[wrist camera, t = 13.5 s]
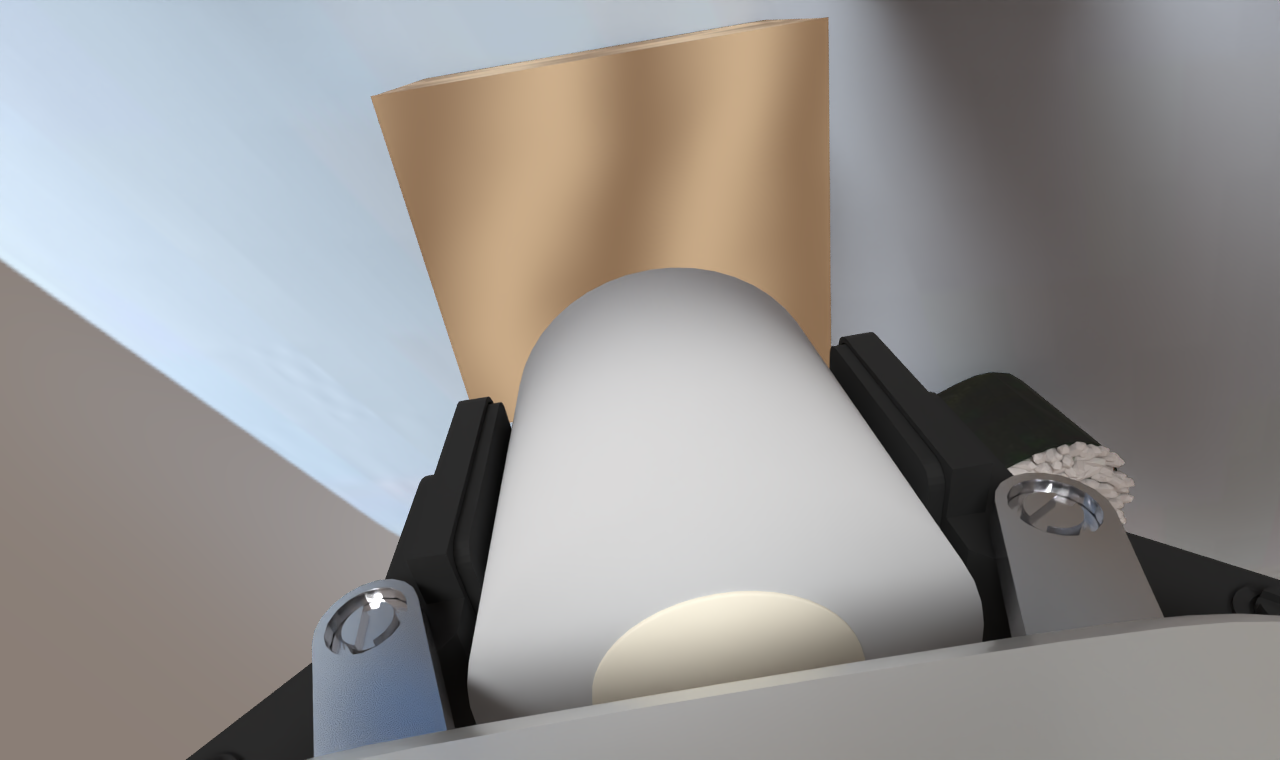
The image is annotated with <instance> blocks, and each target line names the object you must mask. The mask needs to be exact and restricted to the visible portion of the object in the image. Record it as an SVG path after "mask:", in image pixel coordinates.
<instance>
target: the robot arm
mask: <svg viewBox="0 0 1280 760" xmlns="http://www.w3.org/2000/svg"><path fill="white" fill-rule="evenodd" d="M829 369H830V371H831V372H832V374H833V375H834V376H835V378H836V379H837V381H838V382H839V384H840V385H841V387H842V388H843V389H844V391H845V392H846V394H847V395H848V397H849V398H850V400H851V401H852V402H853V404H854V405H855V407H856V408H857V410H858V411H859V413H860V414H861V415H862V417H863V418H864V420H865V421H866V423H867V424H868V426H869V427H870V428H871V430H872V431H873V433H874V434H875V436H876V437H877V439H878V440H879V441H880V443H881V444H882V446H883V447H884V449H885V450H886V452H887V453H888V454H889V456H890V457H891V459H892V460H893V462H894V463H895V465H896V466H897V467H898V469H899V470H900V472H901V473H902V475H903V476H904V478H905V479H906V480H907V482H908V483H909V485H910V486H911V488H912V489H913V491H914V492H915V493H916V495H917V496H918V498H919V499H920V501H921V502H922V504H923V505H924V506H925V508H926V509H927V511H928V512H929V514H930V515H931V517H932V518H933V519H934V521H935V522H936V524H937V525H938V527H939V528H940V530H941V531H942V532H943V534H944V535H945V537H946V538H947V540H948V541H949V543H950V544H951V545H952V547H953V548H954V550H955V551H956V553H957V554H958V555H959V557H960V558H961V560H962V561H963V563H964V565H965V566H966V568H967V570H968V571H969V573H970V575H971V576H972V578H973V580H974V582H975V585H976V587H977V590H978V593H979V596H980V599H981V602H982V611H983V620H984V628H983V639H982V642H980V643H974V644H967V645H961V646H955V647H948V648H942V649H936V650H929V651H923V652H917V653H910V654H904V655H898V656H891V657H885V658H879V659H872V660H866V661H860V662H853V663H847V664H841V665H834V666H828V667H822V668H816V669H810V670H804V671H797V672H791V673H785V674H779V675H773V676H767V677H761V678H754V679H748V680H742V681H736V682H730V683H724V684H718V685H712V686H705V687H699V688H693V689H687V690H681V691H675V692H669V693H663V694H657V695H651V696H645V697H639V698H633V699H627V700H621V701H615V702H609V703H603V704H597V705H591V706H585V707H579V708H573V709H567V710H562V711H556V712H550V713H544V714H538V715H532V716H526V717H520V718H514V719H508V720H502V721H496V722H491V723H485V724H479V725H477V724H476V721H475V719H474V716H473V713H472V710H471V708H470V702H469V695H468V688H467V680H468V666H469V659H470V653H471V648H472V642H473V637H474V631H475V626H476V621H477V615H478V610H479V604H480V599H481V593H482V588H483V582H484V577H485V571H486V566H487V561H488V555H489V550H490V544H491V539H492V533H493V528H494V522H495V517H496V511H497V506H498V501H499V495H500V490H501V484H502V479H503V473H504V468H505V462H506V457H507V452H508V446H509V441H510V435H511V430H512V429H511V426H510V423H509V419H508V416H507V413H506V410H505V407H504V405H503V403H502V402H498V403H493V401H492V399H491V398H490V397H489V396H488V397H482V398H476V399H470V400H464V401H460V402H459V403H458V404H457V407H456V410H455V413H454V416H453V419H452V422H451V425H450V428H449V431H448V434H447V437H446V440H445V443H444V446H443V449H442V452H441V455H440V458H439V461H438V464H437V468H436V471H435V474H434V475H429V476H425V477H424V478H422V480H421V482H420V484H419V486H418V489H417V492H416V495H415V497H414V500H413V503H412V506H411V509H410V511H409V514H408V517H407V520H406V523H405V525H404V528H403V531H402V534H401V537H400V539H399V542H398V545H397V548H396V551H395V553H394V556H393V559H392V562H391V564H390V567H389V570H388V573H387V576H386V579H385V580H377V581H374V582H371V583H368V584H365V585H362V586H360V587H358V588H356V589H355V590H353V591H351V592H349V593H347V594H346V595H344V596H343V597H342V598H341V599H339V600H338V601H337V602H336V603H334V604H333V605H332V606H331V607H330V608H329V610H328V611H327V612H326V613H325V614H324V615H323V616H322V618H321V620H320V622H319V623H318V625H317V627H316V629H315V631H314V637H313V641H312V663H311V664H309V665H308V666H307V667H306V668H304V669H303V670H302V671H300V672H299V673H298V674H297V675H295V676H294V677H293V678H291V679H290V680H289V681H288V682H286V683H285V684H283V685H282V686H281V687H280V688H278V689H277V690H276V691H274V693H272V694H271V695H269V696H268V697H267V698H265V699H264V700H263V701H262V702H260V703H259V704H258V705H257V706H255V707H254V708H253V709H251V710H250V711H249V712H247V713H246V714H245V715H243V716H242V717H241V718H239V719H238V720H237V721H236V722H234V723H233V724H232V725H230V726H229V727H228V728H227V729H225V730H224V731H223V732H221V733H220V734H219V735H217V736H216V737H215V738H213V739H212V740H211V741H210V742H208V743H207V744H206V745H205V746H203V747H202V748H201V749H199V750H198V751H197V752H196V753H194V754H193V755H191V756H190V757H189V758H188V759H186V760H1280V580H1278V579H1275V578H1272V577H1268V576H1265V575H1262V574H1259V573H1256V572H1252V571H1249V570H1246V569H1243V568H1240V567H1236V566H1233V565H1230V564H1227V563H1224V562H1220V561H1217V560H1214V559H1211V558H1208V557H1204V556H1201V555H1198V554H1195V553H1192V552H1189V551H1185V550H1182V549H1179V548H1176V547H1173V546H1169V545H1166V544H1163V543H1160V542H1157V541H1153V540H1150V539H1147V538H1144V537H1141V536H1137V535H1134V534H1131V533H1128V532H1125V530H1124V528H1123V525H1122V523H1121V521H1120V519H1119V516H1118V514H1117V512H1116V510H1115V509H1114V508H1113V506H1112V505H1111V503H1110V502H1109V500H1108V499H1106V498H1105V497H1104V496H1103V495H1101V494H1100V493H1099V492H1098V491H1096V490H1095V489H1093V488H1091V487H1089V486H1087V485H1085V484H1083V483H1081V482H1079V481H1077V480H1074V479H1070V478H1067V477H1064V476H1061V475H1055V474H1048V473H1024V474H1019V475H1015V476H1014V475H1013V474H1012V473H1011V472H1010V471H1009V470H1008V469H1007V468H1006V467H1005V466H1004V465H1003V464H1002V462H1001V461H1000V460H999V459H998V458H997V457H996V456H995V455H994V454H993V453H992V452H991V451H990V450H989V449H988V448H987V446H986V445H985V444H984V443H983V442H982V441H981V440H980V439H979V438H978V437H977V436H976V435H975V434H974V433H973V432H972V430H971V429H970V428H969V427H968V426H967V425H966V424H965V423H964V422H963V421H962V420H961V419H960V418H959V417H958V416H957V414H956V413H955V412H954V411H953V410H952V409H951V408H950V407H949V406H948V405H947V404H946V403H945V402H944V401H943V400H942V398H941V397H939V396H938V395H937V394H936V393H933V392H928V391H927V390H926V389H925V388H924V387H923V385H922V384H921V383H920V382H919V381H918V380H917V379H916V378H915V377H914V376H913V375H912V373H911V372H910V371H909V370H908V369H907V368H906V367H905V366H904V365H903V364H902V363H901V361H900V360H899V359H898V358H897V357H896V356H895V355H894V354H893V353H892V352H891V351H890V349H889V348H888V347H887V346H886V345H885V344H884V343H883V342H882V341H881V340H880V339H879V338H878V336H877V335H876V334H874V333H873V332H869V333H863V334H857V335H851V336H845V337H841V338H840V340H839V345H837V346H832V347H831V349H830V363H829Z"/></svg>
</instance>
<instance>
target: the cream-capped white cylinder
mask: <svg viewBox="0 0 1280 760" xmlns="http://www.w3.org/2000/svg"><path fill="white" fill-rule="evenodd" d="M983 628H984V620H983V611H982V602H981V599H980V596H979V593H978V590H977V587H976V585H975V582H974V580H973V578H972V576H971V575H970V573H969V571H968V570H967V568H966V566H965V565H964V563H963V561H962V560H961V558H960V557H959V555H958V554H957V553H956V551H955V550H954V548H953V547H952V545H951V544H950V543H949V541H948V540H947V538H946V537H945V535H944V534H943V532H942V531H941V530H940V528H939V527H938V525H937V524H936V522H935V521H934V519H933V518H932V517H931V515H930V514H929V512H928V511H927V509H926V508H925V506H924V505H923V504H922V502H921V501H920V499H919V498H918V496H917V495H916V493H915V492H914V491H913V489H912V488H911V486H910V485H909V483H908V482H907V480H906V479H905V478H904V476H903V475H902V473H901V472H900V470H899V469H898V467H897V466H896V465H895V463H894V462H893V460H892V459H891V457H890V456H889V454H888V453H887V452H886V450H885V449H884V447H883V446H882V444H881V443H880V441H879V440H878V439H877V437H876V436H875V434H874V433H873V431H872V430H871V428H870V427H869V426H868V424H867V423H866V421H865V420H864V418H863V417H862V415H861V414H860V413H859V411H858V410H857V408H856V407H855V405H854V404H853V402H852V401H851V400H850V398H849V397H848V395H847V394H846V392H845V391H844V389H843V388H842V387H841V385H840V384H839V382H838V381H837V379H836V378H835V376H834V375H833V374H832V372H831V371H830V369H829V368H828V366H827V365H826V363H825V362H824V361H823V359H822V358H821V356H820V355H819V353H818V352H817V350H816V349H815V348H814V346H813V345H812V343H811V342H810V340H809V339H808V337H807V336H806V335H805V333H804V332H803V330H802V329H801V327H800V326H799V325H798V323H797V322H796V321H795V319H794V318H793V317H792V316H791V315H790V314H789V312H788V311H787V310H786V309H785V308H784V307H783V306H782V305H780V304H779V303H778V302H777V301H776V300H775V299H773V298H772V297H771V296H770V295H768V294H767V293H765V292H763V291H762V290H760V289H759V288H757V287H755V286H754V285H752V284H749V283H747V282H745V281H743V280H740V279H738V278H736V277H733V276H729V275H726V274H723V273H719V272H716V271H710V270H703V269H697V268H662V269H652V270H646V271H642V272H638V273H633V274H629V275H626V276H623V277H620V278H618V279H615V280H612V281H609V282H607V283H605V284H603V285H601V286H599V287H597V288H595V289H593V290H591V291H589V292H587V293H586V294H584V295H583V296H582V297H580V298H579V299H577V300H576V301H574V302H573V303H572V304H570V305H569V306H568V307H567V308H566V309H565V310H563V311H562V312H561V313H560V314H559V315H558V316H557V317H556V318H555V319H554V320H553V321H552V322H551V323H550V325H549V326H548V327H547V328H546V329H545V331H544V332H543V333H542V334H541V336H540V338H539V339H538V341H537V342H536V344H535V346H534V347H533V349H532V351H531V353H530V355H529V358H528V360H527V362H526V365H525V367H524V370H523V374H522V378H521V382H520V386H519V392H518V397H517V402H516V408H515V413H514V419H513V424H512V430H511V435H510V441H509V446H508V452H507V457H506V462H505V468H504V473H503V479H502V484H501V490H500V495H499V501H498V506H497V511H496V517H495V522H494V528H493V533H492V539H491V544H490V550H489V555H488V561H487V566H486V571H485V577H484V582H483V588H482V593H481V599H480V604H479V610H478V615H477V621H476V626H475V631H474V637H473V642H472V648H471V653H470V659H469V666H468V680H467V688H468V695H469V702H470V708H471V710H472V713H473V716H474V719H475V721H476V724H477V725H479V724H485V723H491V722H496V721H502V720H508V719H514V718H520V717H526V716H532V715H538V714H544V713H550V712H556V711H562V710H567V709H573V708H579V707H585V706H591V705H597V704H603V703H609V702H615V701H621V700H627V699H633V698H639V697H645V696H651V695H657V694H663V693H669V692H675V691H681V690H687V689H693V688H699V687H705V686H712V685H718V684H724V683H730V682H736V681H742V680H748V679H754V678H761V677H767V676H773V675H779V674H785V673H791V672H797V671H804V670H810V669H816V668H822V667H828V666H834V665H841V664H847V663H853V662H860V661H866V660H872V659H879V658H885V657H891V656H898V655H904V654H910V653H917V652H923V651H929V650H936V649H942V648H948V647H955V646H961V645H967V644H974V643H980V642H982V639H983Z"/></svg>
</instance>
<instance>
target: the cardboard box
mask: <svg viewBox="0 0 1280 760" xmlns="http://www.w3.org/2000/svg"><path fill="white" fill-rule="evenodd" d="M814 19H820V18H814ZM814 19H784V20H762V21H756V22H751V23H745V24H739V25H733V26H727V27H722V28H716V29H710V30H704V31H698V32H693V33H687V34H681V35H675V36H670V37H664V38H658V39H652V40H646V41H641V42H635V43H629V44H623V45H617V46H612V47H606V48H600V49H594V50H588V51H583V52H577V53H571V54H565V55H560V56H554V57H548V58H542V59H536V60H531V61H525V62H519V63H513V64H507V65H502V66H496V67H490V68H484V69H479V70H473V71H467V72H461V73H455V74H450V75H444V76H438V77H432V78H426V79H423V80H420V81H417V82H414V83H411V84H408V85H405V86H402V87H399V88H396V89H393V90H390V91H387V92H384V93H381V94H386V93H392V92H397V91H403V90H409V89H415V88H420V87H426V86H432V85H438V84H444V83H449V82H455V81H461V80H467V79H473V78H478V77H484V76H490V75H496V74H502V73H507V72H513V71H519V70H525V69H530V68H536V67H542V66H548V65H554V64H559V63H565V62H571V61H577V60H583V59H588V58H594V57H600V56H606V55H611V54H617V53H623V52H629V51H635V50H640V49H646V48H652V47H658V46H664V45H669V44H675V43H681V42H687V41H693V40H698V39H704V38H710V37H716V36H721V35H727V34H733V33H739V32H745V31H750V30H756V29H762V28H768V27H774V26H779V25H785V24H791V23H797V22H802V21H808V20H814ZM378 95H380V94H378Z"/></svg>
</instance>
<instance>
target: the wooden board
mask: <svg viewBox="0 0 1280 760" xmlns="http://www.w3.org/2000/svg"><path fill="white" fill-rule="evenodd" d="M371 99H372V102H373V105H374V108H375V111H376V114H377V117H378V121H379V124H380V127H381V130H382V133H383V136H384V139H385V142H386V145H387V148H388V151H389V154H390V157H391V160H392V164H393V167H394V170H395V173H396V176H397V179H398V182H399V185H400V188H401V191H402V194H403V197H404V200H405V203H406V207H407V210H408V213H409V216H410V219H411V222H412V225H413V228H414V231H415V234H416V237H417V240H418V243H419V246H420V250H421V253H422V256H423V259H424V262H425V265H426V268H427V271H428V274H429V277H430V280H431V283H432V286H433V289H434V293H435V296H436V299H437V302H438V305H439V308H440V311H441V314H442V317H443V320H444V323H445V326H446V329H447V332H448V336H449V339H450V342H451V345H452V348H453V351H454V354H455V357H456V360H457V363H458V366H459V369H460V372H461V376H462V379H463V382H464V385H465V388H466V391H467V394H468V397H469V400H470V399H476V398H482V397H488V396H489V397H490V398H491V399H492V401H493V403H498V402H502V403H503V405H504V407H505V410H506V413H507V416H508V419H509V423H510V422H513V419H514V413H515V408H516V402H517V397H518V392H519V386H520V382H521V378H522V374H523V370H524V367H525V365H526V362H527V360H528V358H529V355H530V353H531V351H532V349H533V347H534V346H535V344H536V342H537V341H538V339H539V338H540V336H541V334H542V333H543V332H544V331H545V329H546V328H547V327H548V326H549V325H550V323H551V322H552V321H553V320H554V319H555V318H556V317H557V316H558V315H559V314H560V313H561V312H562V311H563V310H565V309H566V308H567V307H568V306H569V305H570V304H572V303H573V302H574V301H576V300H577V299H579V298H580V297H582V296H583V295H584V294H586V293H587V292H589V291H591V290H593V289H595V288H597V287H599V286H601V285H603V284H605V283H607V282H609V281H612V280H615V279H618V278H620V277H623V276H626V275H629V274H633V273H638V272H642V271H646V270H652V269H662V268H697V269H703V270H710V271H716V272H719V273H723V274H726V275H729V276H733V277H736V278H738V279H740V280H743V281H745V282H747V283H749V284H752V285H754V286H755V287H757V288H759V289H760V290H762V291H763V292H765V293H767V294H768V295H770V296H771V297H772V298H773V299H775V300H776V301H777V302H778V303H779V304H780V305H782V306H783V307H784V308H785V309H786V310H787V311H788V312H789V314H790V315H791V316H792V317H793V318H794V319H795V321H796V322H797V323H798V325H799V326H800V327H801V329H802V330H803V332H804V333H805V335H806V336H807V337H808V339H809V340H810V342H811V343H812V345H813V346H814V348H815V349H816V350H817V352H818V353H819V355H820V356H821V358H822V359H823V361H824V362H825V363H826V365H827V366H828V368H829V363H830V349H831V292H830V165H829V38H828V17H827V18H820V19H814V20H808V21H802V22H797V23H791V24H785V25H779V26H774V27H768V28H762V29H756V30H750V31H745V32H739V33H733V34H727V35H721V36H716V37H710V38H704V39H698V40H693V41H687V42H681V43H675V44H669V45H664V46H658V47H652V48H646V49H640V50H635V51H629V52H623V53H617V54H611V55H606V56H600V57H594V58H588V59H583V60H577V61H571V62H565V63H559V64H554V65H548V66H542V67H536V68H530V69H525V70H519V71H513V72H507V73H502V74H496V75H490V76H484V77H478V78H473V79H467V80H461V81H455V82H449V83H444V84H438V85H432V86H426V87H420V88H415V89H409V90H403V91H397V92H392V93H386V94H380V95H375V96H371Z"/></svg>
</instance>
